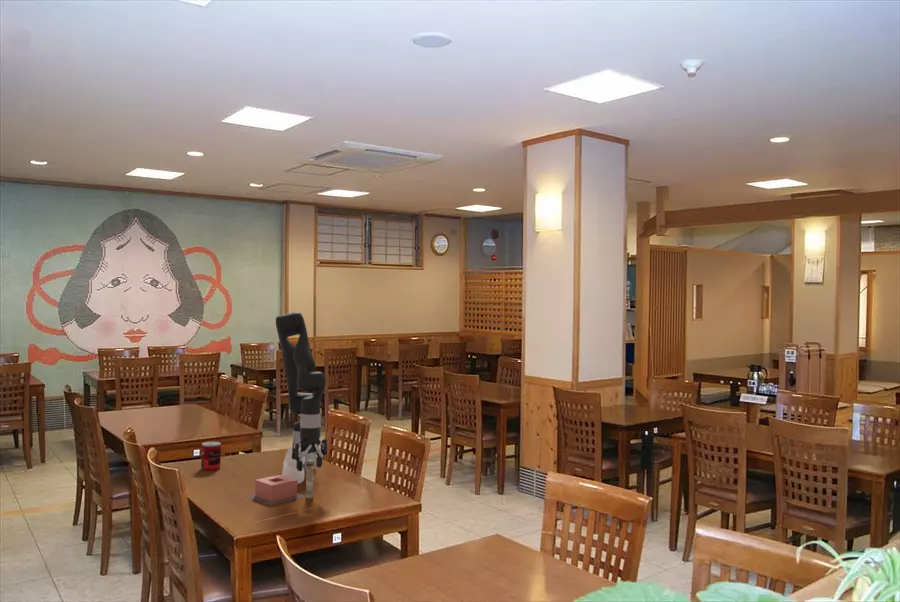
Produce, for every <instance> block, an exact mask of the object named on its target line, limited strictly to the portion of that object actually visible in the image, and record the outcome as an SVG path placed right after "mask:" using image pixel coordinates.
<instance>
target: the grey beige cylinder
mask: <svg viewBox="0 0 900 602" xmlns="http://www.w3.org/2000/svg"><path fill="white" fill-rule="evenodd" d="M305 472H306V473H305V477H306V478H305V496H306V497H305V498H306V499H308V500H310V499H314V488H315V487H314V484H315V480H314V479H315V469H314V460H307V461H306V471H305Z"/></svg>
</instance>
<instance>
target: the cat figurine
mask: <svg viewBox="0 0 900 602" xmlns="http://www.w3.org/2000/svg"><path fill="white" fill-rule="evenodd" d="M300 449H301V447H300ZM300 449H299V450H300ZM284 457H285V458H284V460H283V463H282V472H281V475H283V476H286V477H289V478H292V479H295V480H297V485H299V484H302V483H303V482H304V481H305V475H306V473H305V472H304V469H303V467H302V471H298V470H297V468H296V467H297V461H296V460H294V459H292V447H289V448H288V450H287V452H286V454H285V456H284ZM302 461H303V464H304V462H305V456H304V458H303V460H302Z"/></svg>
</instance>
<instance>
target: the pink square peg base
mask: <svg viewBox="0 0 900 602" xmlns="http://www.w3.org/2000/svg"><path fill="white" fill-rule="evenodd" d="M254 484H255V485H254V494H255V496H257V497H260V498H262V499H265V500H267V501H270V502H274V501H278V500H282V499H287V498H291V497H295V496H297V493H298V484H297V480H295V479H292V478H289V477H286V476H283V475H282V474H277V475H271V476H267V477H262V478H258V479H255V481H254Z"/></svg>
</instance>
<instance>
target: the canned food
mask: <svg viewBox="0 0 900 602" xmlns="http://www.w3.org/2000/svg"><path fill="white" fill-rule="evenodd" d="M221 453H222V444H221V442H219V441H205V442H202V443H201V462H200V463H201V464H200V465H201V470H203V471H207V472H208V471H217V470H219V469H220V468H221V460H222V459H221V456H222V454H221Z"/></svg>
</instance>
